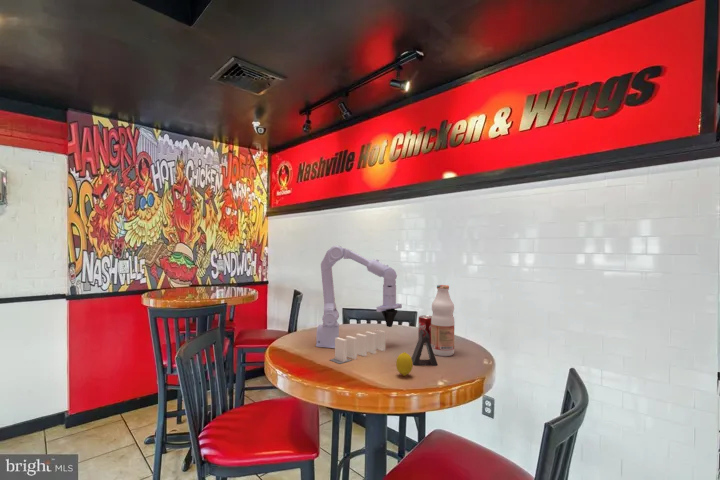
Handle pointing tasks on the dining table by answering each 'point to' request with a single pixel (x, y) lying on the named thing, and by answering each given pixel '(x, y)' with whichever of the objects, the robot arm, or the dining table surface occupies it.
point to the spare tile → (341, 349)
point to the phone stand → (418, 350)
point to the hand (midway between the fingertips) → (389, 326)
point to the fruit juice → (442, 323)
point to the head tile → (380, 340)
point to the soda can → (424, 325)
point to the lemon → (404, 363)
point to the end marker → (339, 361)
